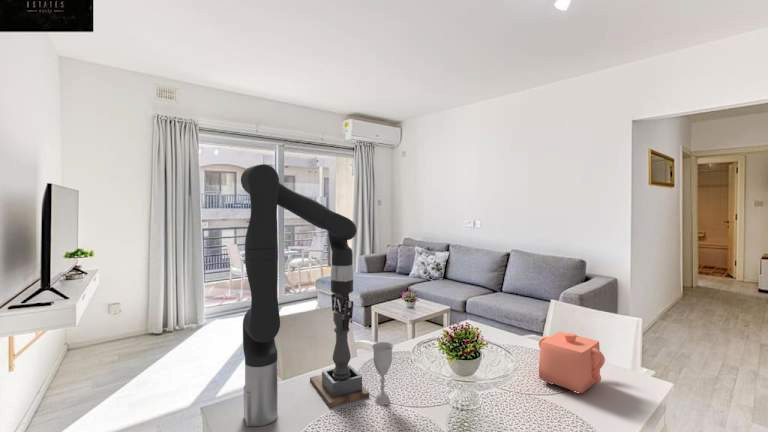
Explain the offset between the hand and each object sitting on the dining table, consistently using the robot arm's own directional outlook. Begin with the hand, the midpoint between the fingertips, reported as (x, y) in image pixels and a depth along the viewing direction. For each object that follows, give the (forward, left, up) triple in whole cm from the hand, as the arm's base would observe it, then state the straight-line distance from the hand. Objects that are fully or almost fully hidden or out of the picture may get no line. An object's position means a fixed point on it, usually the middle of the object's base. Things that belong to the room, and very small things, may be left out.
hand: (341, 327), depth 128 cm
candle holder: (0, 0, -20) cm, 20 cm away
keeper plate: (0, +3, -22) cm, 23 cm away
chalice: (+10, -11, -23) cm, 27 cm away
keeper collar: (0, 0, -21) cm, 21 cm away
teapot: (+79, -31, -23) cm, 88 cm away
